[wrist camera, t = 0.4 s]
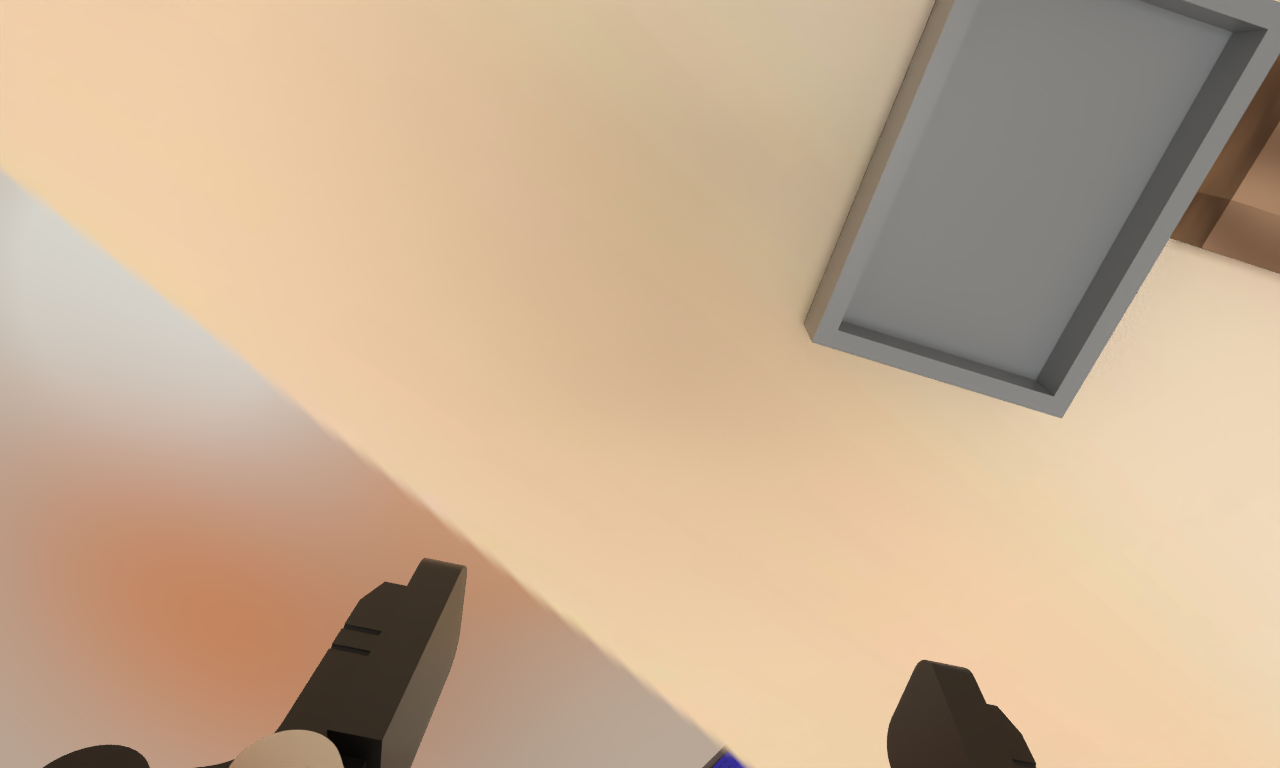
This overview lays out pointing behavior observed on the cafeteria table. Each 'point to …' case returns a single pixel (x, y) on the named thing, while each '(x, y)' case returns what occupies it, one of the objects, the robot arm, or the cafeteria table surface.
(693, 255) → the cafeteria table surface
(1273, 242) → the dock board
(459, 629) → the robot arm
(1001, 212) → the tray
